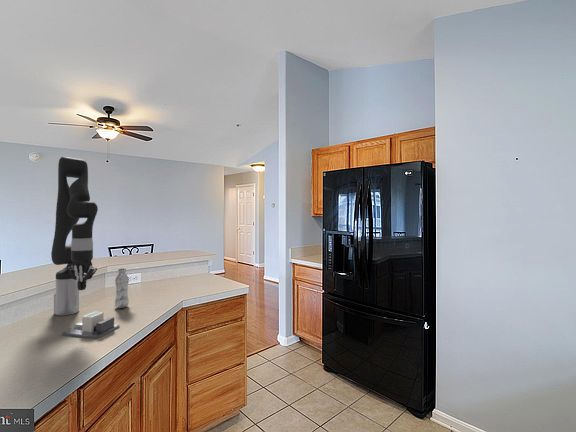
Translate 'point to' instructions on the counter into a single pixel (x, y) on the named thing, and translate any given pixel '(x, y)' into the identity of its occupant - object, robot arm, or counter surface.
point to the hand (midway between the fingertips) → (81, 289)
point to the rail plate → (87, 334)
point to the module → (91, 321)
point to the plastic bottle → (121, 289)
